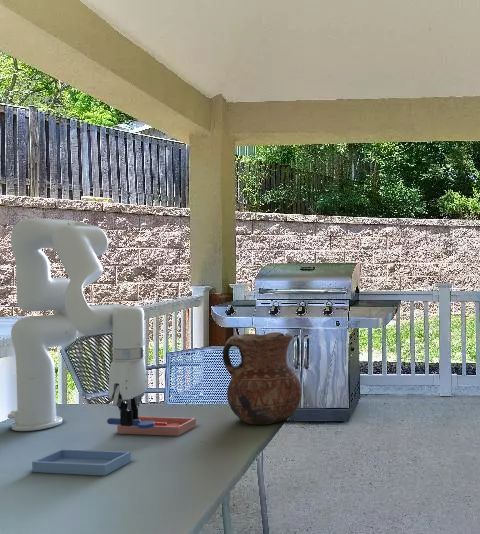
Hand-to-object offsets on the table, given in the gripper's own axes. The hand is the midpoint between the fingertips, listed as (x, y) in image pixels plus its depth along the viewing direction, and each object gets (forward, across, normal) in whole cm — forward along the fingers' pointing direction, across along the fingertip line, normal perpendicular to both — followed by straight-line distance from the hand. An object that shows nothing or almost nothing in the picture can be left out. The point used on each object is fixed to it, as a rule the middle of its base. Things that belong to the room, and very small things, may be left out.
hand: (129, 423), depth 158 cm
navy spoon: (0, 0, 0) cm, 0 cm away
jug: (+4, -25, +27) cm, 37 cm away
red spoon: (+4, -11, +1) cm, 12 cm away
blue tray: (+4, +19, +1) cm, 20 cm away
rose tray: (+5, -11, +1) cm, 12 cm away
